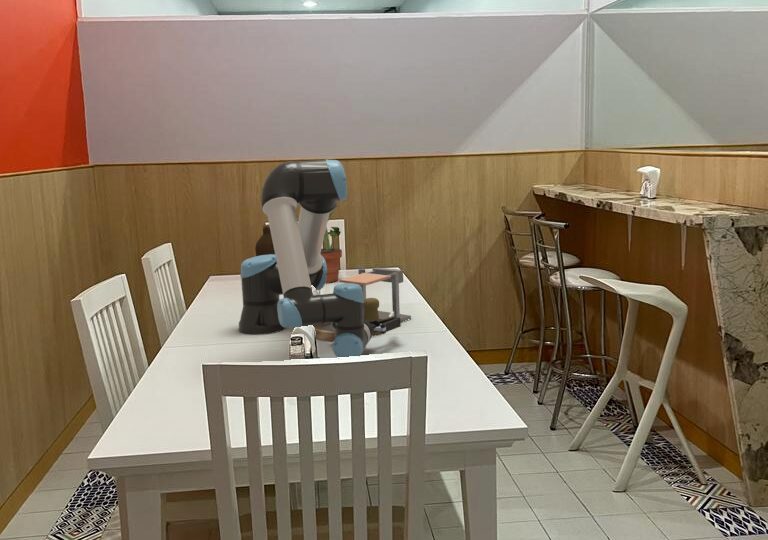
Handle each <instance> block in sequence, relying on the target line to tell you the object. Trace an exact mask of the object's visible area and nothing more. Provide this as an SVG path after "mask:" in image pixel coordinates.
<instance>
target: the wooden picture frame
mask: <svg viewBox="0 0 768 540" xmlns="http://www.w3.org/2000/svg"><path fill="white" fill-rule="evenodd" d="M331 324H332V323H326V324H316V325H314V327H315V331H316V338H318V339H317V340H322V341H327V342H334V341H335V339H336V337H335V332H331V331H325V330H320V329H318V328H321V327H324V326H327V325H331ZM316 338H315V339H316Z"/></svg>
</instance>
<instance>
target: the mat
mask: <svg viewBox="0 0 768 540" xmlns="http://www.w3.org/2000/svg"><path fill="white" fill-rule="evenodd" d="M318 329H320V330H325V331H331V332H335V337H336V329H335V328H334V327H333V326H332V324H331V325H327V326H324V327H321V328H318Z"/></svg>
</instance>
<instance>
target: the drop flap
mask: <svg viewBox="0 0 768 540" xmlns="http://www.w3.org/2000/svg"><path fill="white" fill-rule="evenodd" d="M393 272H397V273H398V274H399V284H402V283H404V270H403V269H395V268H386V267H374V268H372V271H367V272H365V273H362V274H359V273H358V274H355V275H351V276H348V277H345V278H341V279H338V280H339V283H340V284H344V283H354V284H358V285H365V286H366V287H367V286H369V285H372V284H375V283H379V282H384V283H391V284H392V273H393Z"/></svg>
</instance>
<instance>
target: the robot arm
mask: <svg viewBox="0 0 768 540" xmlns="http://www.w3.org/2000/svg"><path fill="white" fill-rule="evenodd" d="M264 180H265V181H264V182H263V185H262V189H261V194H260V203H261V210H262V212H263V213H264V215H265V216H267V220H268V225H269V226H270V231H271V236H272V241H273V246H274V251H275V255H274V254H269V255H261V256H256V255H255V256H253V257H249V258H247V259H244V260H243V261H242V263H241V264H240V279H241V292H242V293H241V294H242V310H241V314H240V319H239V322H238V330H239V332H240V333H243V334H248V333H249V334H250V335H263V334H264V333H266V334H272V332H273V333H276V331H278V332H280V330H281V331H282V330H285V329H287V328H298V327H301V326H308V325H316V324H326V323H332V326H333V327H334V328H335V329H336V339H335V341H333V344H332V351H333V354H334V355H335V357H336V358H337V357H349V356H359V357H360V356H361V355H362V354H363V352H364V350H365V348H366V347H367V345H368V344H369V342H370V341H371V339H372V338H373V336H372V335H373V333H375V332H377V331H380V332H381V334H380V335H385V334H386V333H388V332H391V331H393V330H395V329H397V328H401V323H402V322H400V318H396V316H394V312H393V311H391V312H390V315H389V317H388V318H387V319H383V320H378V321H376V320H371V321H367V320H366V319H364V301H363V292H362V287H361V286H360V285H358V284H354V283H339V284H336V285H334V287H333V291H332V292H331V293H324V294H316V295H315V294H314V291H313V292H312V287H311V285H313V286H314V287H315V288H316V290H318V291H321V290H322V289H323V288H324V287H325V285H326V284H327V283H326V279H327V275H326V274H327V265H326V261H325V259H324V257H323V256H322V255H321V254H320V253H321V249H323V243H324V240H325V236H324V235H325V231H326V227H327V226H328V222H329V221H328V218H329V213H330V212H332V211H333V210H334V209H335V208H336V209H337V207H336V205H337V206H338V202H342V201H345V200H347V196H348V184H347V183H348V182H347V175H346V172H345V169H344V166H343V164H342V163H341V161H339V160H336V159H327V158H326V159H318V160H299V161H298V160H296V161H294V160H289V161H285V162H282V163H280V164H278V165H277V166H275V167H274V168H273V169H272V170H271V171H270V172H269V174H268V175H267V177H266V179H264ZM298 206H300V210H299V215H298V217H297V213H296V210H297V208H298ZM336 209H335V210H336ZM297 218H298V219H297ZM281 295H282V296H283V298H280V296H281ZM372 323H373V324H372ZM284 328H285V329H284ZM264 335H265V334H264Z"/></svg>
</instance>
